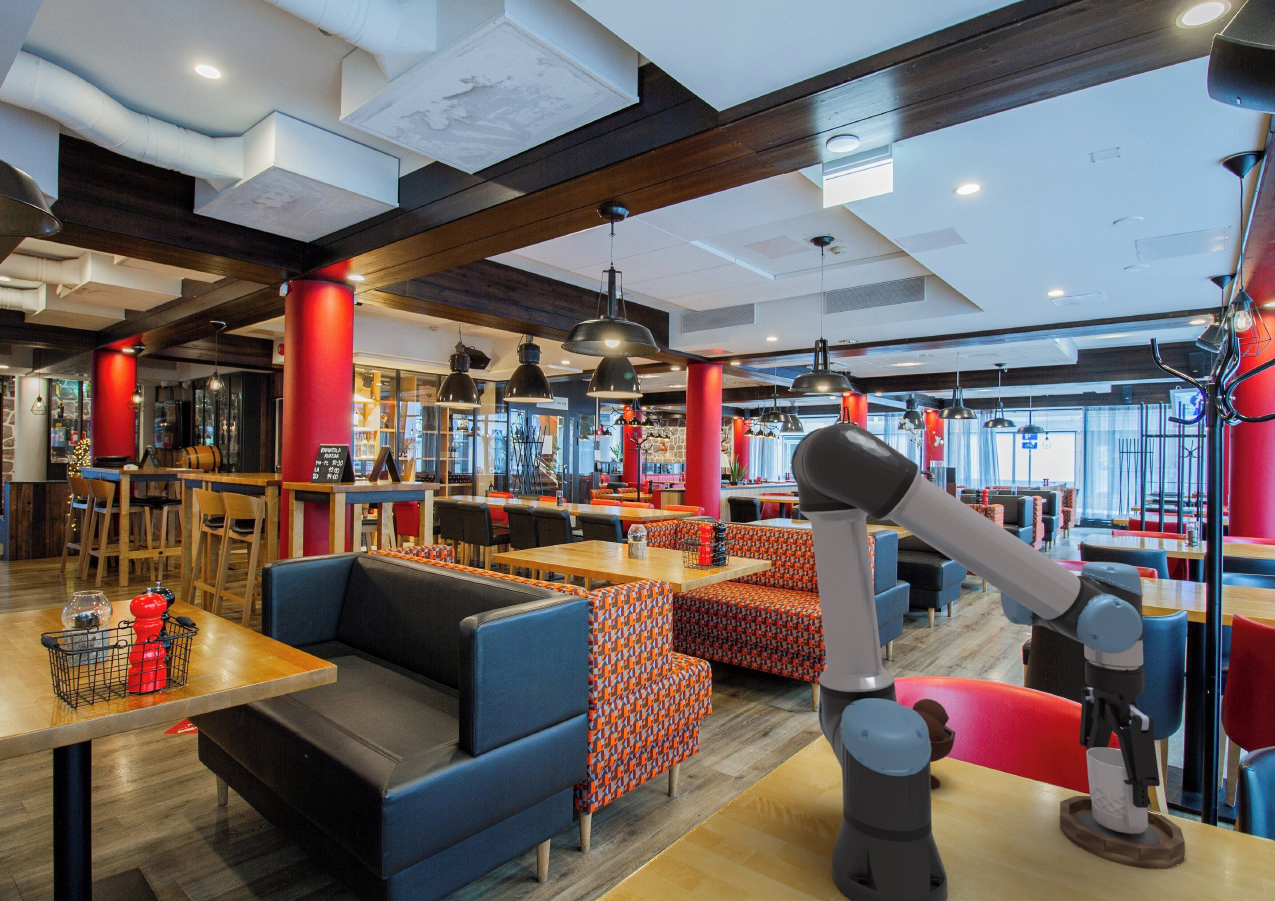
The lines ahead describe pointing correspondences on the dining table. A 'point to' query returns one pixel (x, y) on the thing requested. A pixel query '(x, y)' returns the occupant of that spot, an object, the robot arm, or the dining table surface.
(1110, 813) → the white cup
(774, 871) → the dining table surface
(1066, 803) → the tray
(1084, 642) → the robot arm
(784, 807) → the dining table surface
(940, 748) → the ice cream bowl
